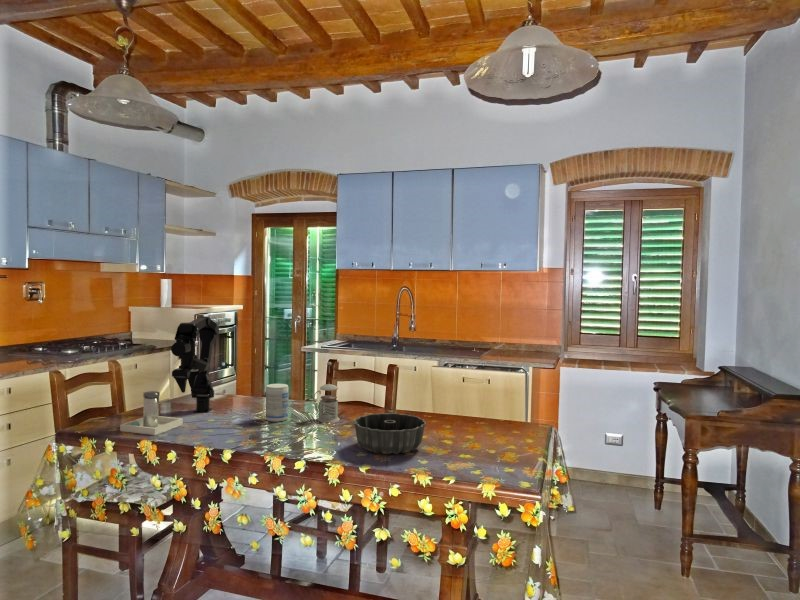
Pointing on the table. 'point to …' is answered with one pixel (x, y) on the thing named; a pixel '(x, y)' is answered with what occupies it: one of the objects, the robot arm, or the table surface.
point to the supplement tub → (276, 402)
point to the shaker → (151, 409)
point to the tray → (163, 426)
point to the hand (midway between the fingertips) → (187, 390)
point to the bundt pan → (389, 432)
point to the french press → (328, 404)
